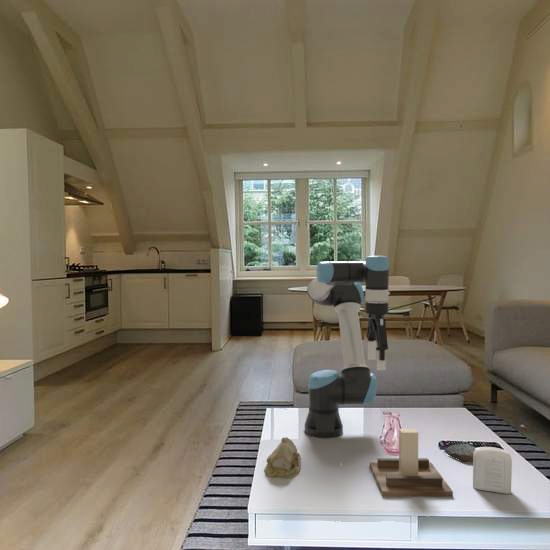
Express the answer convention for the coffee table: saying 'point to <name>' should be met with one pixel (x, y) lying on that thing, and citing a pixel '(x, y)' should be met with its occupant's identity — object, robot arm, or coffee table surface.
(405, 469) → the beige rectangular block
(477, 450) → the white upright flat block
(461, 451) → the fossil
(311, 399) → the robot arm
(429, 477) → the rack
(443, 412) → the coffee table surface
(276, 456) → the ceramic model
